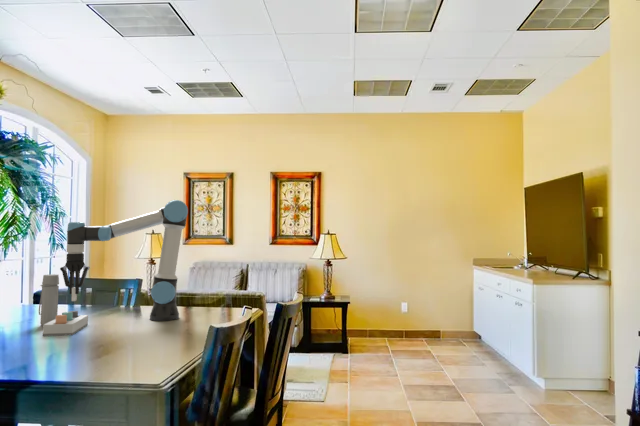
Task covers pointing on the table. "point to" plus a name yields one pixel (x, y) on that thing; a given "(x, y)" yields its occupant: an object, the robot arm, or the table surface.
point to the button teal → (68, 315)
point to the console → (65, 326)
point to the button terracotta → (61, 319)
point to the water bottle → (49, 298)
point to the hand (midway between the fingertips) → (74, 300)
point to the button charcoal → (74, 314)
